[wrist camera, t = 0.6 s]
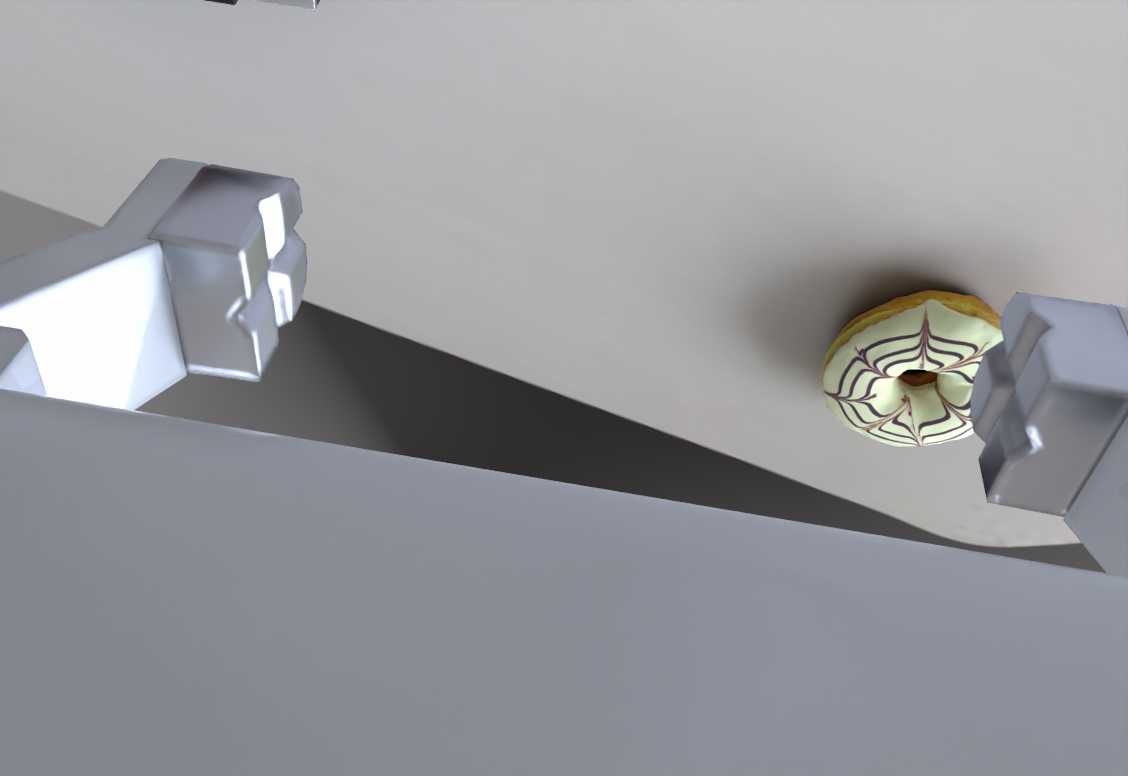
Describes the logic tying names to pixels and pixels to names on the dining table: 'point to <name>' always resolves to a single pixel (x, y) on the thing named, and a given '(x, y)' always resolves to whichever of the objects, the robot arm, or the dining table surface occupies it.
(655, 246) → the dining table surface
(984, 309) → the decorated donut
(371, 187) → the dining table surface
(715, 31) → the dining table surface
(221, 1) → the glossy black box
